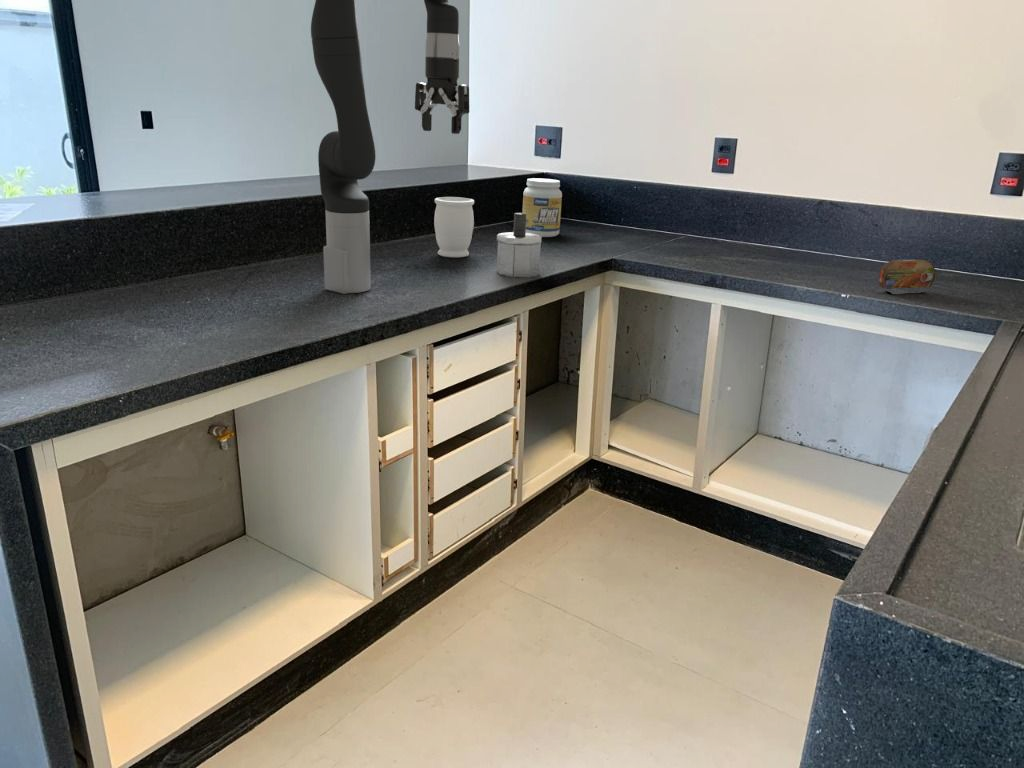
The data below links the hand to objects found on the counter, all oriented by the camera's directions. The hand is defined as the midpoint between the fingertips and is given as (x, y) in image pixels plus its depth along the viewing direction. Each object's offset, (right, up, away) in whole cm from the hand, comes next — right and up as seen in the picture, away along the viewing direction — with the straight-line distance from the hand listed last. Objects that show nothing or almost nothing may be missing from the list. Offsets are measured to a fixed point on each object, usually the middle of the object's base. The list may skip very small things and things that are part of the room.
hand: (441, 132), depth 182 cm
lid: (+18, -23, +14) cm, 32 cm away
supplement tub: (+25, -10, +70) cm, 75 cm away
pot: (+18, -30, +16) cm, 39 cm away
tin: (+114, -35, +16) cm, 121 cm away
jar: (0, -23, +34) cm, 41 cm away
